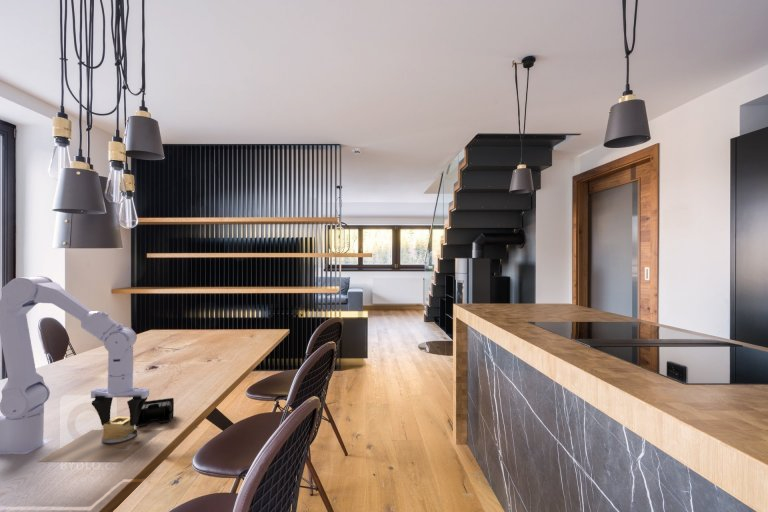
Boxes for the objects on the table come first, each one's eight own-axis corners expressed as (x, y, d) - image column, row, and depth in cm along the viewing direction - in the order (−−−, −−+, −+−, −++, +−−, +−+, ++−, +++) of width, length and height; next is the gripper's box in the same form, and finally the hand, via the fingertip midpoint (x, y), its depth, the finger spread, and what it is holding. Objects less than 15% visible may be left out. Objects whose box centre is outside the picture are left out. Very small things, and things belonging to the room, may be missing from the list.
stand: (94, 444, 103) (94, 428, 103) (114, 431, 111) (114, 416, 111) (124, 444, 103) (125, 428, 103) (143, 431, 111) (143, 416, 111)
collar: (103, 439, 104) (103, 424, 104) (115, 431, 109) (116, 416, 109) (122, 439, 104) (122, 424, 104) (134, 431, 109) (134, 416, 109)
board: (36, 464, 94) (36, 461, 94) (92, 431, 112) (92, 429, 112) (121, 464, 94) (121, 461, 94) (163, 432, 112) (163, 429, 112)
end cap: (173, 416, 123) (173, 395, 124) (172, 425, 117) (172, 402, 117) (136, 422, 119) (136, 399, 119) (132, 431, 113) (133, 407, 113)
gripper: (82, 377, 103) (81, 430, 103) (138, 378, 103) (137, 430, 103) (101, 370, 110) (100, 419, 110) (153, 370, 111) (153, 419, 110)
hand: (119, 424), depth 107 cm, fingers open, 7 cm apart
